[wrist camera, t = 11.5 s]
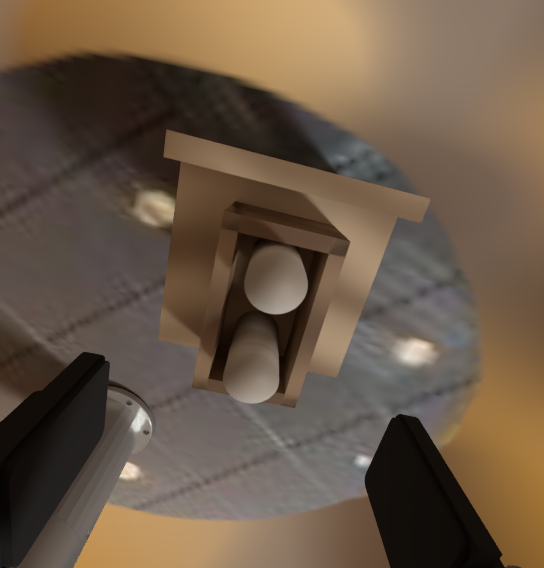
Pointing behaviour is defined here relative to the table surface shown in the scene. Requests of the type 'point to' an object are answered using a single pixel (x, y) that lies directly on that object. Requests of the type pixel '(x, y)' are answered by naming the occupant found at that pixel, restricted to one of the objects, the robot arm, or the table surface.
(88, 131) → the table surface
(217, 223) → the tan flanged panel
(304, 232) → the tray
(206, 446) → the table surface
